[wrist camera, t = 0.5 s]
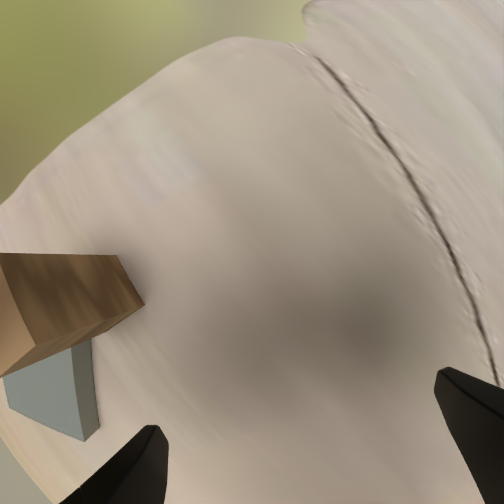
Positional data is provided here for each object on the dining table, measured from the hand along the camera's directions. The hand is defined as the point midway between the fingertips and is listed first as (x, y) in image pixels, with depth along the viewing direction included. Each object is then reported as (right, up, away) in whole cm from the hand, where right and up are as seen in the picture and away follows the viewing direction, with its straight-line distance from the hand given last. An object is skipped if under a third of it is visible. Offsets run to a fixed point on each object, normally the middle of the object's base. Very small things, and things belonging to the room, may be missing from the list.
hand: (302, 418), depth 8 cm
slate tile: (-20, -6, +14) cm, 26 cm away
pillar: (-13, +2, +14) cm, 19 cm away
